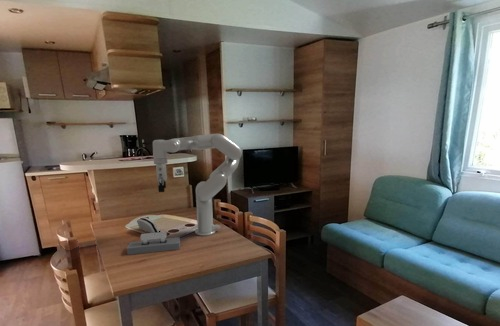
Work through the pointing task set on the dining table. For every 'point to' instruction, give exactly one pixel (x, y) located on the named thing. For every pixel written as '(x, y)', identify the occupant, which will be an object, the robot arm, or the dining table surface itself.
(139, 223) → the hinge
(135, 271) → the dining table surface
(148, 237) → the clip
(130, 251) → the rail
